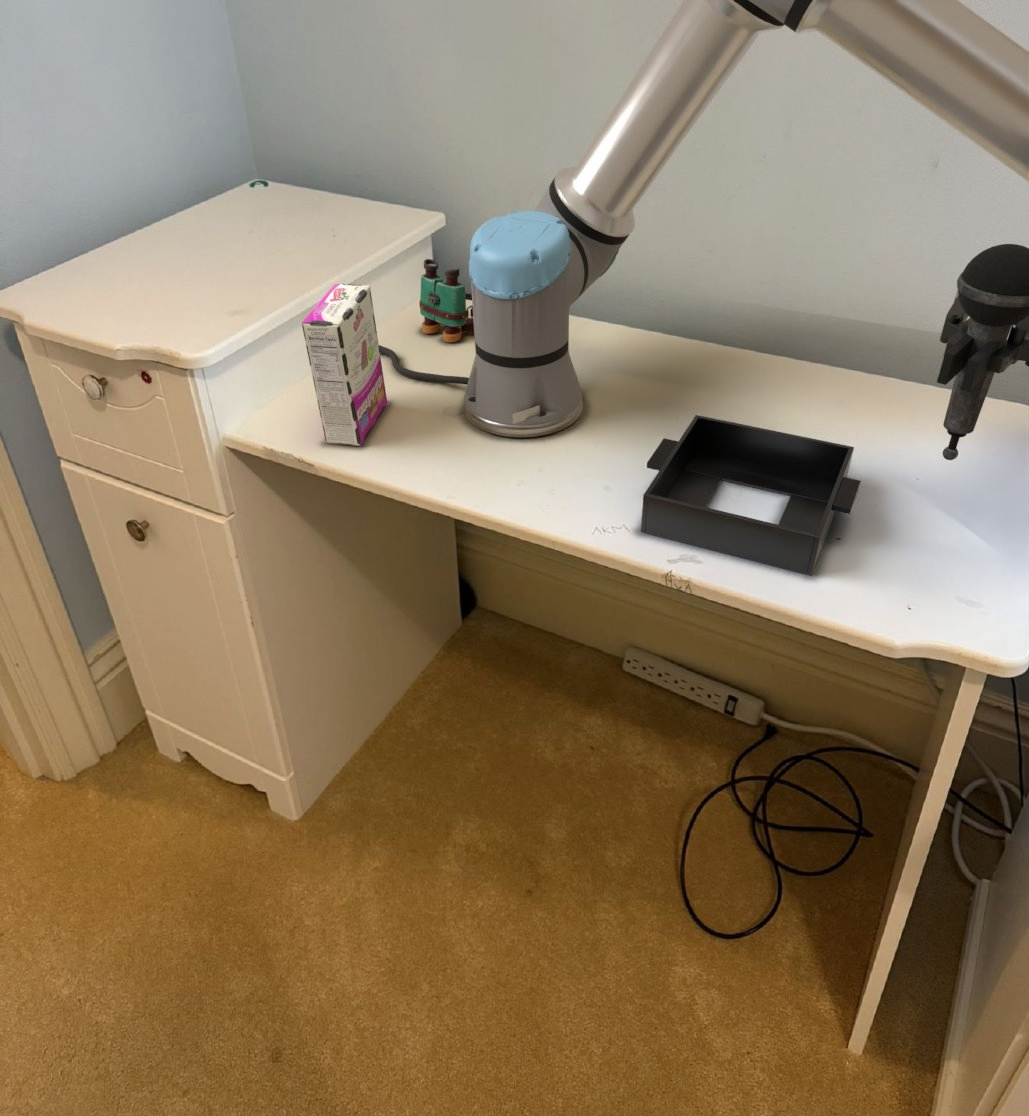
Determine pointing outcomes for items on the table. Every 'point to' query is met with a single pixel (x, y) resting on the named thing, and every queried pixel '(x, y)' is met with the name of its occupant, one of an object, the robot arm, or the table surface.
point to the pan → (756, 462)
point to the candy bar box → (345, 363)
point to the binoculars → (444, 303)
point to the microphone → (986, 324)
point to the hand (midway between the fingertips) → (957, 372)
